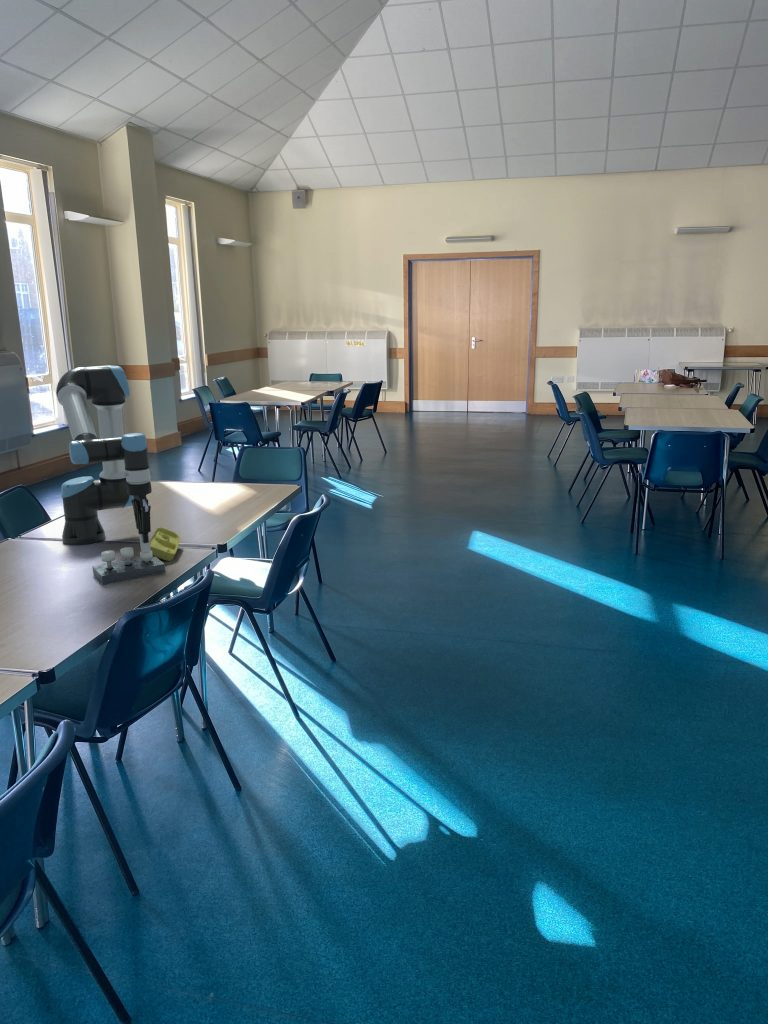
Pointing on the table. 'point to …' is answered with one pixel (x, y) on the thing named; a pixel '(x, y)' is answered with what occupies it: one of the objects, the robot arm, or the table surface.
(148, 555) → the knob
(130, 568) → the mount
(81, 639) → the table surface
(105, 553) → the knob
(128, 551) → the knob mid
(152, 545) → the plastic component
